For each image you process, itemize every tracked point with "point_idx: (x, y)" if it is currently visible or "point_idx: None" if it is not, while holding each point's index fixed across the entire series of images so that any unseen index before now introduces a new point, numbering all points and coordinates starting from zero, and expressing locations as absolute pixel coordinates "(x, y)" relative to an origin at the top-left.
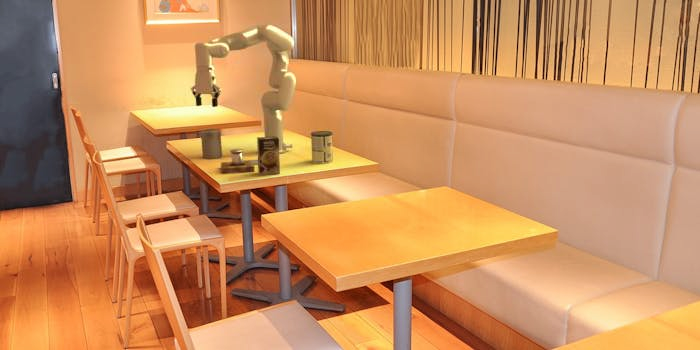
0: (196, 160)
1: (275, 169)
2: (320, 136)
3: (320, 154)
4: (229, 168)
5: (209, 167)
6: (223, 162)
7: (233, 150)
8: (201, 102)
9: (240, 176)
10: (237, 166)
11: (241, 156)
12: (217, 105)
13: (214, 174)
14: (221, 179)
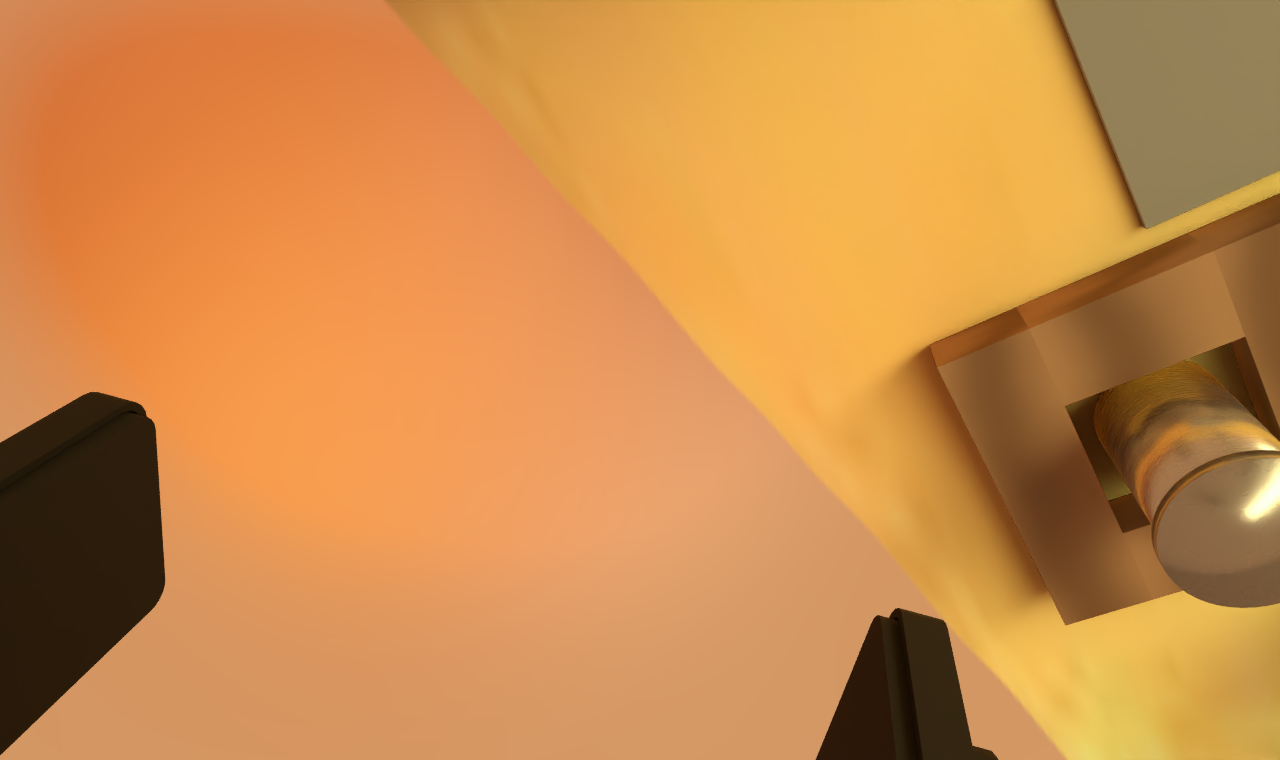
0: (462, 39)
1: None
2: None
3: None
4: (1134, 603)
5: (797, 362)
6: (970, 369)
7: (1210, 549)
8: (71, 460)
9: (1265, 663)
10: None
11: None
12: (943, 641)
13: (973, 615)
14: (1105, 756)
